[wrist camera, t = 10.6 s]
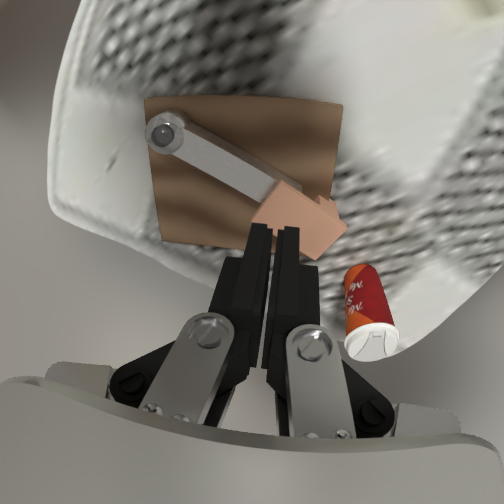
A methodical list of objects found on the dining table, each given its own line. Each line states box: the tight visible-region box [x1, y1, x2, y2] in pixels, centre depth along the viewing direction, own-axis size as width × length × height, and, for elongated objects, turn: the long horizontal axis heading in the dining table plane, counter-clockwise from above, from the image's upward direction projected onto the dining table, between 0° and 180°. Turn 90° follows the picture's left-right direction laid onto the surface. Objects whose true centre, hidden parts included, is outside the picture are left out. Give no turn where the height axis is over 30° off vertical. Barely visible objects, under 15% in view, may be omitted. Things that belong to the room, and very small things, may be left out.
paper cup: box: [344, 264, 399, 362], centre depth 40 cm, size 8×8×14 cm
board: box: [144, 95, 343, 257], centre depth 38 cm, size 22×24×1 cm
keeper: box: [251, 180, 347, 260], centre depth 36 cm, size 10×6×6 cm, turn 58°
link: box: [145, 109, 302, 204], centre depth 33 cm, size 20×5×4 cm, turn 60°
